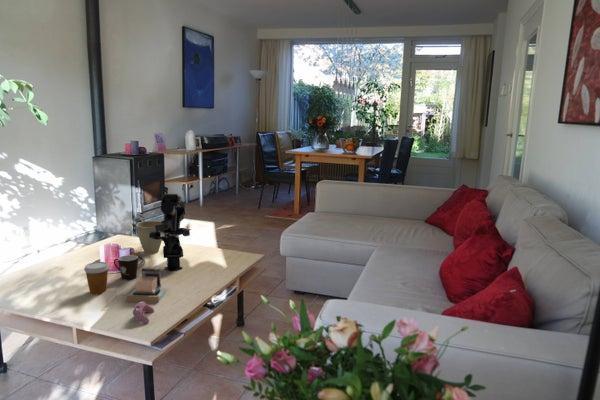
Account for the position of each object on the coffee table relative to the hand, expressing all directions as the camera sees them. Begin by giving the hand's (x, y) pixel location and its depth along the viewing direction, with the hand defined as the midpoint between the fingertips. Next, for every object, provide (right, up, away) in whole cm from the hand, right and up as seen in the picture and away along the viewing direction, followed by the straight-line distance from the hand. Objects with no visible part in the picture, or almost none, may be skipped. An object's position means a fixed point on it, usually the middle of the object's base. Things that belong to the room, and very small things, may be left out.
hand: (168, 252), depth 202 cm
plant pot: (-22, -5, +42) cm, 48 cm away
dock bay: (-3, -17, -20) cm, 26 cm away
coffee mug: (-20, -12, +2) cm, 24 cm away
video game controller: (+2, -20, -38) cm, 43 cm away
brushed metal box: (-3, -16, -19) cm, 25 cm away
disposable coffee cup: (-26, -15, -15) cm, 33 cm away
